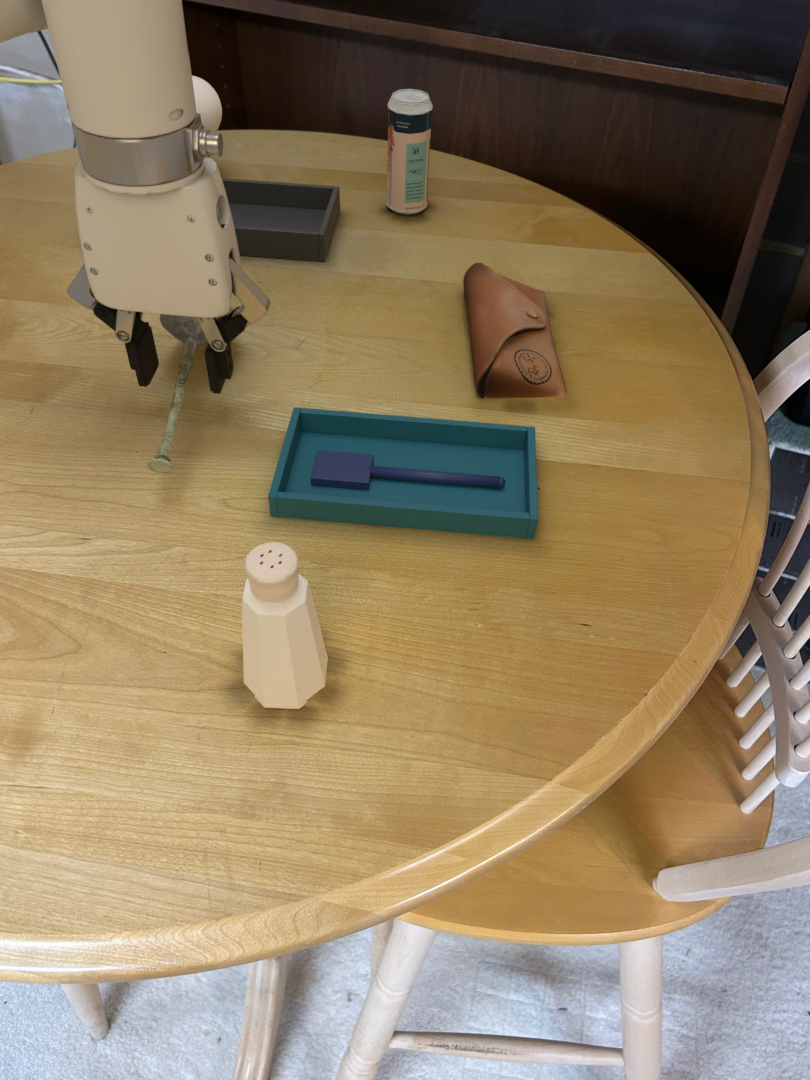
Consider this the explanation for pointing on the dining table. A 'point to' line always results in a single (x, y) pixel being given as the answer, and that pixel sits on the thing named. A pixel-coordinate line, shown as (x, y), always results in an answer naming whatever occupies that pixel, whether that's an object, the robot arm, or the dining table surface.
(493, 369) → the sunglasses case
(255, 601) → the pepper shaker
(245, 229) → the grey tray
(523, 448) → the teal tray
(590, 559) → the dining table surface
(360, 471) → the navy spatula
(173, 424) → the soupspoon
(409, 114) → the beer can
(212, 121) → the light bulb
